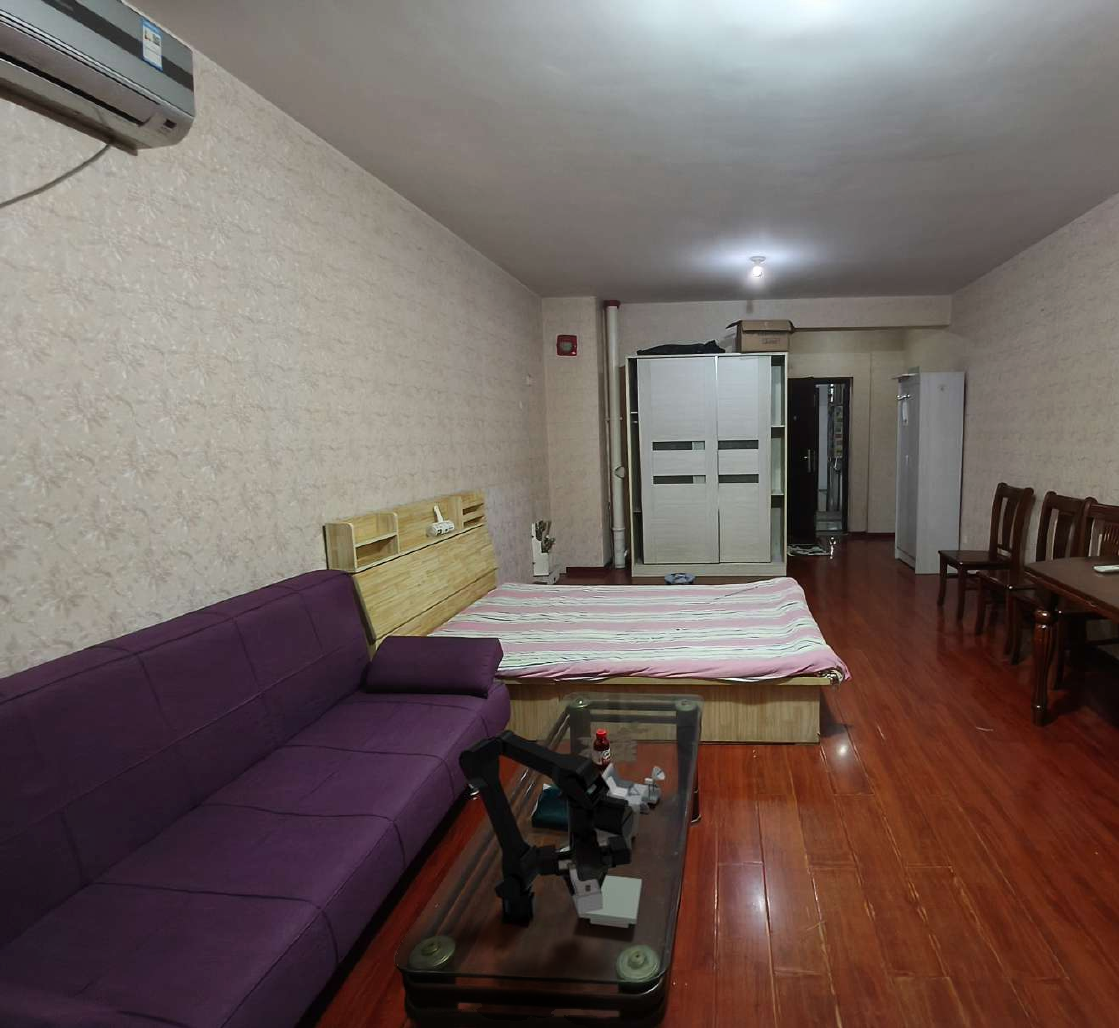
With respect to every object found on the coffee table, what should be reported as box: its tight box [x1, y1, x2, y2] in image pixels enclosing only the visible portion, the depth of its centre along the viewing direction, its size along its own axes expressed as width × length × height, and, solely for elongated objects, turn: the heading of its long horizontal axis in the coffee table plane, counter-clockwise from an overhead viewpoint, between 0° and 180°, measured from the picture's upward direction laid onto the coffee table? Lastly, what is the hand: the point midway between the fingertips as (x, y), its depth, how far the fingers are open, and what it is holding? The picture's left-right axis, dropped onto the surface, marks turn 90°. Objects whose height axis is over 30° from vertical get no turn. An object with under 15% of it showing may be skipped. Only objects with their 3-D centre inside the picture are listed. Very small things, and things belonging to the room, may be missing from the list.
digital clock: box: [597, 803, 641, 852], centre depth 165 cm, size 16×9×11 cm, turn 94°
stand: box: [578, 875, 643, 929], centre depth 143 cm, size 12×12×4 cm
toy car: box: [601, 763, 666, 814], centre depth 185 cm, size 18×10×12 cm
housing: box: [569, 868, 603, 915], centre depth 134 cm, size 5×8×4 cm, turn 13°
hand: (585, 892), depth 134 cm, fingers closed on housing, 5 cm apart
